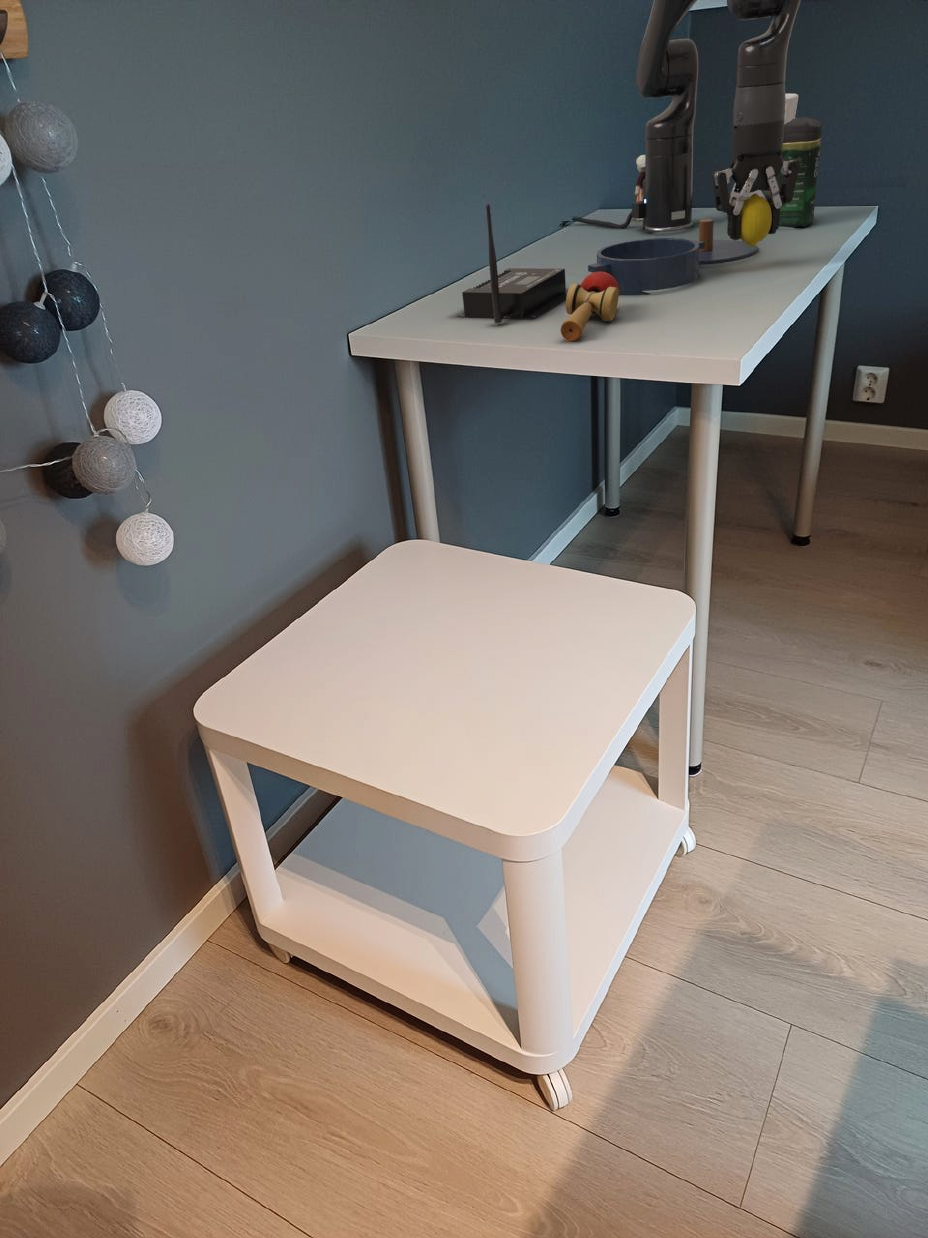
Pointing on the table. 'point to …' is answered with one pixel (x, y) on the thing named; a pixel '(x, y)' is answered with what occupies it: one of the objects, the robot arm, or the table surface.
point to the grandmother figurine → (640, 179)
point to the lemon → (755, 220)
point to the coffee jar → (801, 169)
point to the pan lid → (720, 246)
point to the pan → (650, 264)
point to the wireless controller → (514, 290)
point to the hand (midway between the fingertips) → (752, 235)
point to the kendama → (590, 302)
